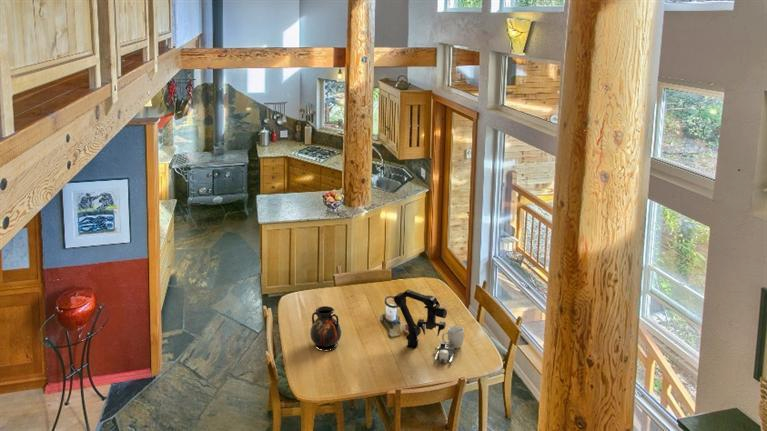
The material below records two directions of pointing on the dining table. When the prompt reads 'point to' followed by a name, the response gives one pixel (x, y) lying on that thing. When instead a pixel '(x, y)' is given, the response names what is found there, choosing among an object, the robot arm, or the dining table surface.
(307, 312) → the dining table surface
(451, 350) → the u-shaped channel
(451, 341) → the mug
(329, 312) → the amphora vase
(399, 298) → the robot arm
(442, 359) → the light bulb
